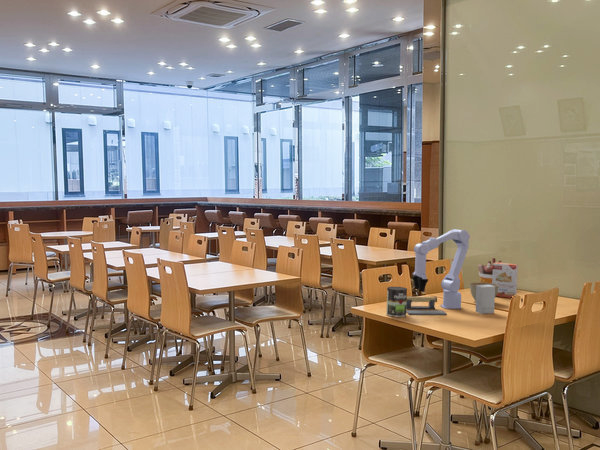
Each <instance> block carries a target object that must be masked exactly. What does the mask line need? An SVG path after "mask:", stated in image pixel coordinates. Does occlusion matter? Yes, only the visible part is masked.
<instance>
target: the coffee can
mask: <svg viewBox="0 0 600 450" xmlns="http://www.w3.org/2000/svg"><path fill="white" fill-rule="evenodd" d="M407 293H408V288H407V287H402V286H388V287H386V311H385V313H386V314H387V315H386V316H388V315H389V316H388V317H392V316H395V317H394V318H403V317H406V316H407V312H406V310H407V309H406V300H407V297H408V294H407Z"/></svg>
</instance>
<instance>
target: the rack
mask: <svg viewBox="0 0 600 450" xmlns="http://www.w3.org/2000/svg"><path fill="white" fill-rule="evenodd" d="M435 303H436V302H435V300H430V302H428V306H427V305H412V300H407V302H406V310H429V311H436V307H435Z"/></svg>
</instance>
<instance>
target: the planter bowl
mask: <svg viewBox="0 0 600 450" xmlns="http://www.w3.org/2000/svg"><path fill="white" fill-rule="evenodd" d="M476 285H492V286H495V298H496V297H497V296H496V295H497V293H498V287H499V285H497V284H492V283H481V282H471V283H469V288H470V294H471V296H472V298H473V300H474V303H476Z"/></svg>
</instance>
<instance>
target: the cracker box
mask: <svg viewBox="0 0 600 450" xmlns="http://www.w3.org/2000/svg"><path fill="white" fill-rule="evenodd" d="M492 265H493V276H492V284H497V285H499V287H498V293H497V295H496V297H501V298H509V299H512V298H511V297H512V296H514V295H516V296H517V291H518V290H517V288H518V271H519V270H518V268H519V267H518V266H519V265H518V264H517V263H516V264H515V263H508V262H506V263H505V262H501V263H498V262H495V263H492Z"/></svg>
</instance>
